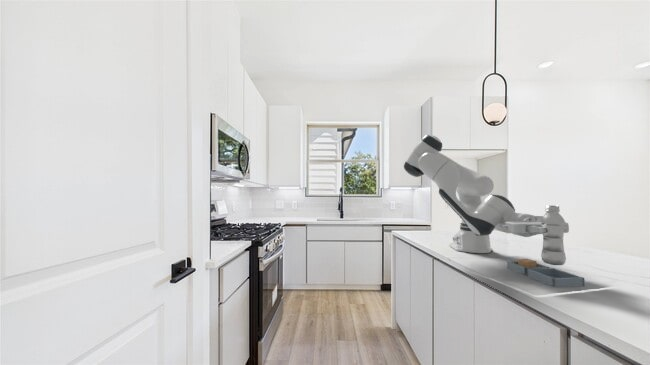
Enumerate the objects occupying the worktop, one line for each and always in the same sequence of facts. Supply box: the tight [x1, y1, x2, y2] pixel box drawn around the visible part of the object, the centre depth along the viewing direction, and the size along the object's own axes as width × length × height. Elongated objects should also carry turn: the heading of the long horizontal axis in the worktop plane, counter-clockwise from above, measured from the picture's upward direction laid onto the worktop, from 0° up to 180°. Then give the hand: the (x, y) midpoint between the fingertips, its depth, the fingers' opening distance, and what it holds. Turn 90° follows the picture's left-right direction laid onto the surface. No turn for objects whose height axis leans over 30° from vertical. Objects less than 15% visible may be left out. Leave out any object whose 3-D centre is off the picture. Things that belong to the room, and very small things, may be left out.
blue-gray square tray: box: [506, 260, 550, 276], centre depth 105 cm, size 9×9×3 cm
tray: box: [526, 267, 585, 288], centre depth 94 cm, size 11×10×3 cm
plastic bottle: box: [540, 205, 567, 266], centre depth 94 cm, size 6×7×20 cm
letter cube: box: [517, 258, 538, 267], centre depth 105 cm, size 4×4×4 cm
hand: (554, 230), depth 93 cm, fingers closed on plastic bottle, 6 cm apart
